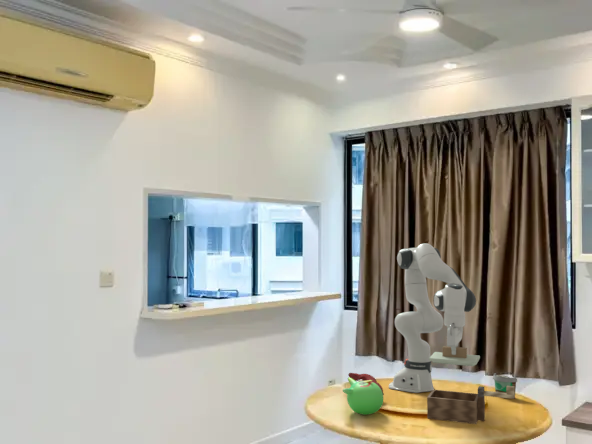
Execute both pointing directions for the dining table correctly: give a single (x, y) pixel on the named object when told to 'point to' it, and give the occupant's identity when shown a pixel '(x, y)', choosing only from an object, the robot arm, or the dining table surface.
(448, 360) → the toolbox lid
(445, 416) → the toolbox
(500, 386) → the food container
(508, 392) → the wooden key
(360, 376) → the red toy dinosaur
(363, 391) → the toy bird
